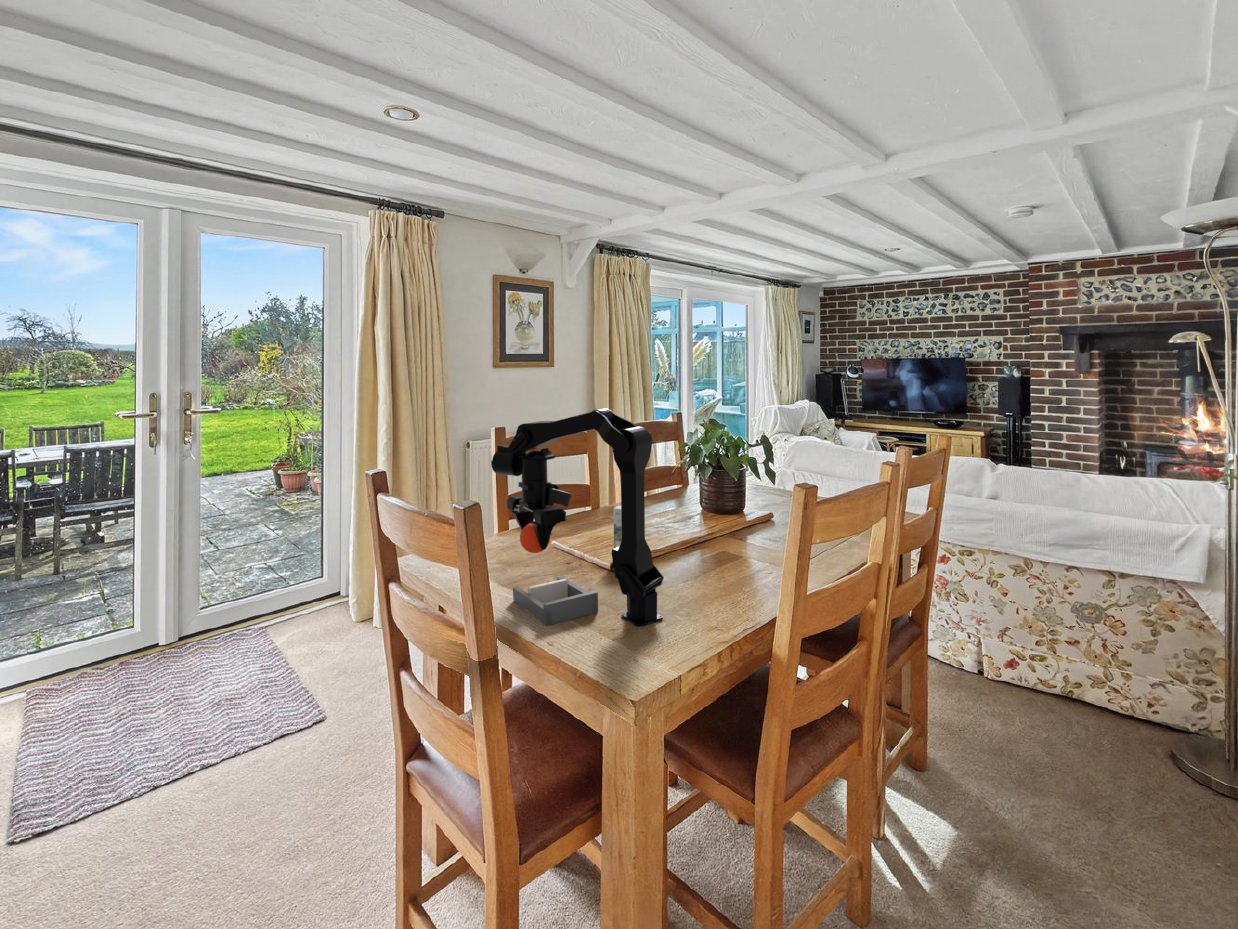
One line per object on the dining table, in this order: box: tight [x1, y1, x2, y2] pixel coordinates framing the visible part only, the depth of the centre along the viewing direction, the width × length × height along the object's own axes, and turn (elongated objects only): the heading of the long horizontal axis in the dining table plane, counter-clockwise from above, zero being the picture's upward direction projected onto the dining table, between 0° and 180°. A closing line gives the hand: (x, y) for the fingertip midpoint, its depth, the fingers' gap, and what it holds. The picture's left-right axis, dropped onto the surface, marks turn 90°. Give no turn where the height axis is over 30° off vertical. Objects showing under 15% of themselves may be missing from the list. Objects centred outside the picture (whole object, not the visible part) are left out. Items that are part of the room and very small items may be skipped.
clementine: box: [519, 523, 552, 554], centre depth 142 cm, size 8×7×7 cm
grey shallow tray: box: [512, 576, 599, 627], centre depth 137 cm, size 16×12×4 cm
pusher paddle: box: [527, 578, 568, 603], centre depth 139 cm, size 1×9×4 cm, turn 124°
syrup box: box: [613, 504, 622, 549], centre depth 168 cm, size 6×6×14 cm
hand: (536, 545), depth 143 cm, fingers closed on clementine, 7 cm apart
